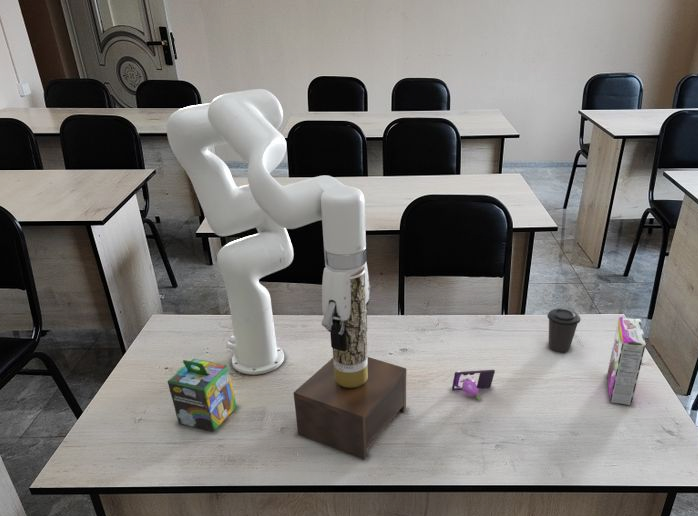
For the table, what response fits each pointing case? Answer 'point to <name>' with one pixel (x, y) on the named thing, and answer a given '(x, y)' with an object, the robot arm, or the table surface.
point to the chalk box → (202, 394)
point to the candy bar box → (625, 360)
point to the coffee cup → (562, 329)
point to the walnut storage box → (350, 407)
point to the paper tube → (353, 338)
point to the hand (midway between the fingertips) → (349, 339)
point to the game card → (469, 384)
